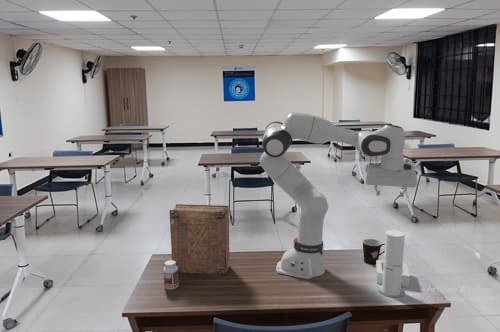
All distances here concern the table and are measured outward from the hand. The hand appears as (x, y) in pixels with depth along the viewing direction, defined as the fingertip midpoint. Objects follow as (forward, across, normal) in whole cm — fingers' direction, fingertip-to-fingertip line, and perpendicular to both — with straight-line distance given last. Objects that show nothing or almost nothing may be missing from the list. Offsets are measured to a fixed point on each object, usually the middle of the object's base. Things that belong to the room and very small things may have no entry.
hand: (389, 196), depth 167 cm
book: (+38, -82, -13) cm, 91 cm away
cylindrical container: (+37, +2, -12) cm, 39 cm away
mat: (+38, +2, -11) cm, 39 cm away
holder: (+38, +3, +1) cm, 38 cm away
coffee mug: (+38, -4, +16) cm, 41 cm away
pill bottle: (+38, -87, -32) cm, 100 cm away
